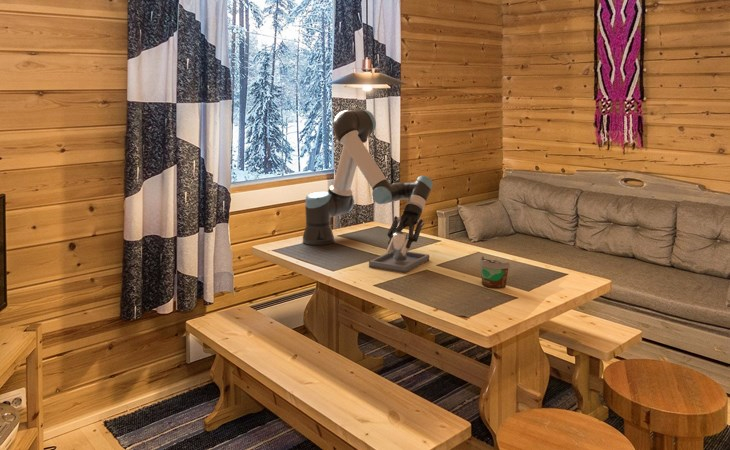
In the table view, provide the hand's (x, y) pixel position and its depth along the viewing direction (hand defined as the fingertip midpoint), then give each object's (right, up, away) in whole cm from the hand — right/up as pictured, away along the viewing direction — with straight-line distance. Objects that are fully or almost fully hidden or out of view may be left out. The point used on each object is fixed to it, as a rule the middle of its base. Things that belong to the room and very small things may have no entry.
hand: (395, 253), depth 262 cm
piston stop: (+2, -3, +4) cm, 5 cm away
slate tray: (+2, -5, +4) cm, 7 cm away
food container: (+34, -12, -25) cm, 44 cm away
